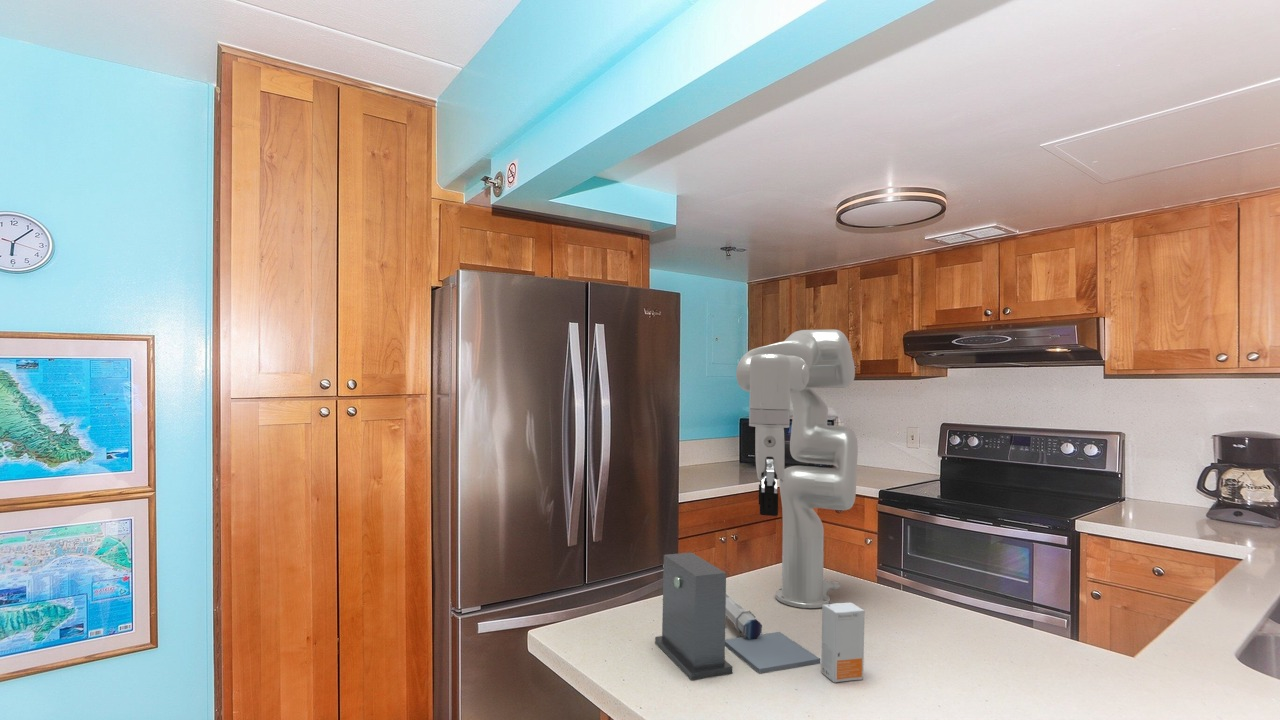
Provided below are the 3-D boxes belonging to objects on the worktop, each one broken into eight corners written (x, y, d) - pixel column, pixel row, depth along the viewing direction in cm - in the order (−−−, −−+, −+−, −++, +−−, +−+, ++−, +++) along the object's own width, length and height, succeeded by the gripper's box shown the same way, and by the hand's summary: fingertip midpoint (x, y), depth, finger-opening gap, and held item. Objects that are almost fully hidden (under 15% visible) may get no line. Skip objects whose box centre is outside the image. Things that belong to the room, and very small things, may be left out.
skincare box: (834, 684, 105) (834, 612, 105) (820, 672, 109) (821, 603, 109) (865, 680, 106) (865, 609, 107) (850, 669, 110) (850, 601, 111)
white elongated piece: (742, 620, 119) (692, 570, 143) (740, 653, 120) (690, 597, 143) (766, 617, 121) (712, 568, 145) (763, 650, 121) (711, 595, 145)
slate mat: (779, 635, 124) (779, 631, 124) (820, 663, 112) (820, 658, 112) (723, 644, 120) (723, 639, 120) (759, 673, 108) (759, 668, 108)
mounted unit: (692, 637, 122) (693, 550, 123) (732, 673, 107) (734, 574, 108) (655, 643, 119) (657, 553, 120) (691, 680, 105) (693, 578, 105)
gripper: (793, 421, 107) (791, 520, 106) (786, 417, 124) (785, 503, 123) (749, 420, 108) (747, 518, 107) (748, 416, 125) (747, 501, 124)
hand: (767, 510), depth 115 cm, fingers open, 9 cm apart
